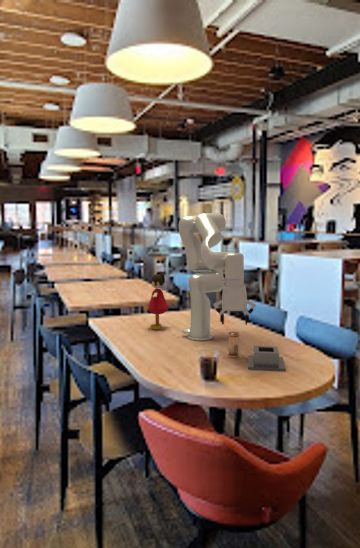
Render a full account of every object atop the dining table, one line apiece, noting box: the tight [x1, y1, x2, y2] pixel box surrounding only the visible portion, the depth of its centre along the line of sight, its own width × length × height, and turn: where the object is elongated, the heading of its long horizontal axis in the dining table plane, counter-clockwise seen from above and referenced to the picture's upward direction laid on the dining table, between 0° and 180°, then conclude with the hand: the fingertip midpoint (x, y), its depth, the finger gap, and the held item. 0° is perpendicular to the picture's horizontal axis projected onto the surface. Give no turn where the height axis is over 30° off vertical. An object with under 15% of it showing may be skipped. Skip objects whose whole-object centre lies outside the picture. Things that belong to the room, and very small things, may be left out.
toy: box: [147, 272, 169, 330], centre depth 222 cm, size 27×11×30 cm, turn 178°
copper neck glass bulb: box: [227, 331, 240, 359], centre depth 177 cm, size 5×5×10 cm
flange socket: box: [247, 345, 286, 372], centre depth 167 cm, size 14×14×6 cm
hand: (234, 324), depth 175 cm, fingers open, 9 cm apart
